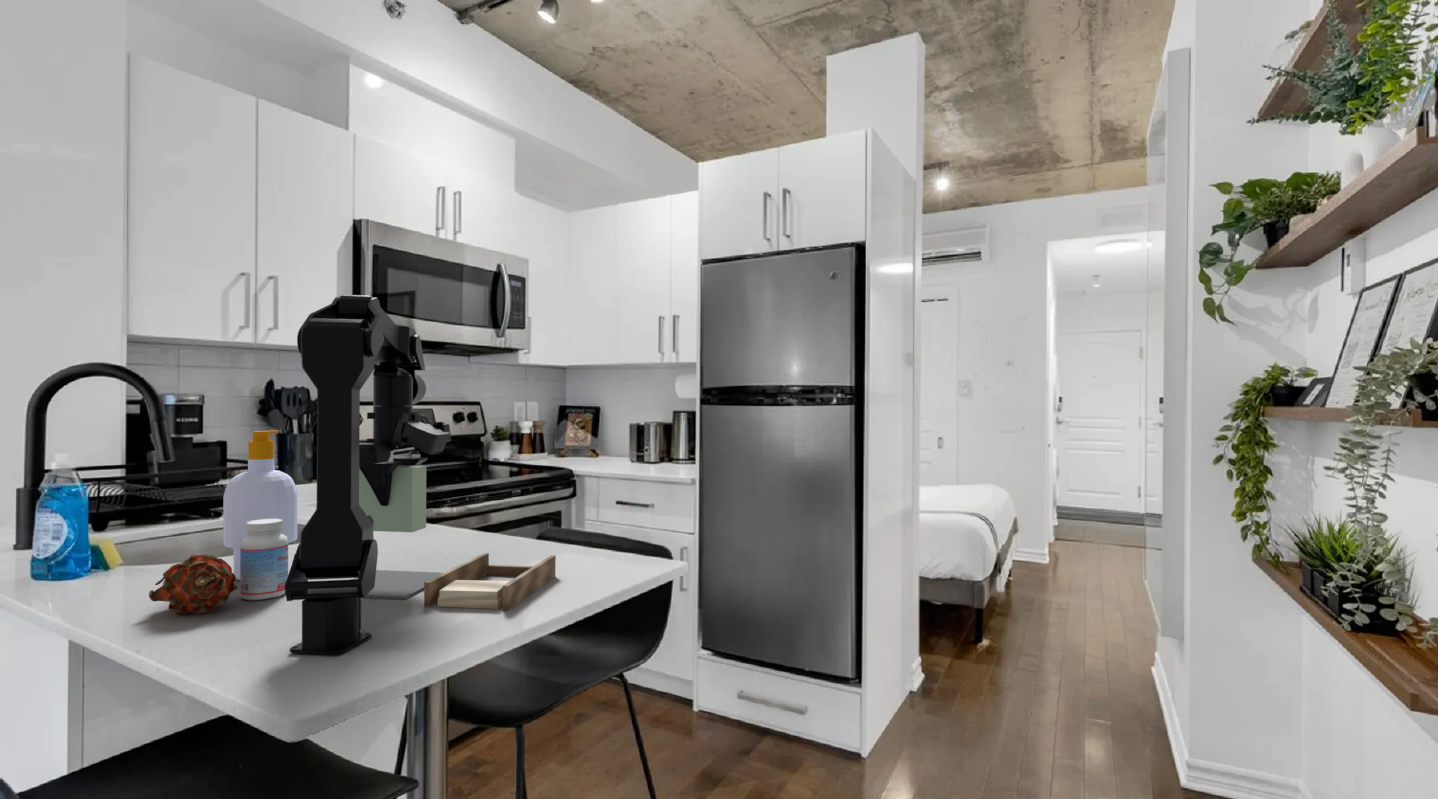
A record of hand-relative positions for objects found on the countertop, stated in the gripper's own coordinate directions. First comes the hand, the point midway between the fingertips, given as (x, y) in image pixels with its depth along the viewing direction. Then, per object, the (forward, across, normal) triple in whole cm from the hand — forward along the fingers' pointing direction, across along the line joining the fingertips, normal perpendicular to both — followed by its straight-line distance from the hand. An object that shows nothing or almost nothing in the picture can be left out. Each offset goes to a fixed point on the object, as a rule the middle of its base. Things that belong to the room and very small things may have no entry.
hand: (392, 503), depth 111 cm
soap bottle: (+13, +2, +25) cm, 28 cm away
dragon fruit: (+13, -16, +19) cm, 29 cm away
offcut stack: (+13, -6, -18) cm, 23 cm away
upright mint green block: (+4, 0, 0) cm, 4 cm away
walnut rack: (+13, 0, -17) cm, 22 cm away
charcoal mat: (+13, 0, +1) cm, 13 cm away
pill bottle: (+13, -8, +16) cm, 22 cm away
